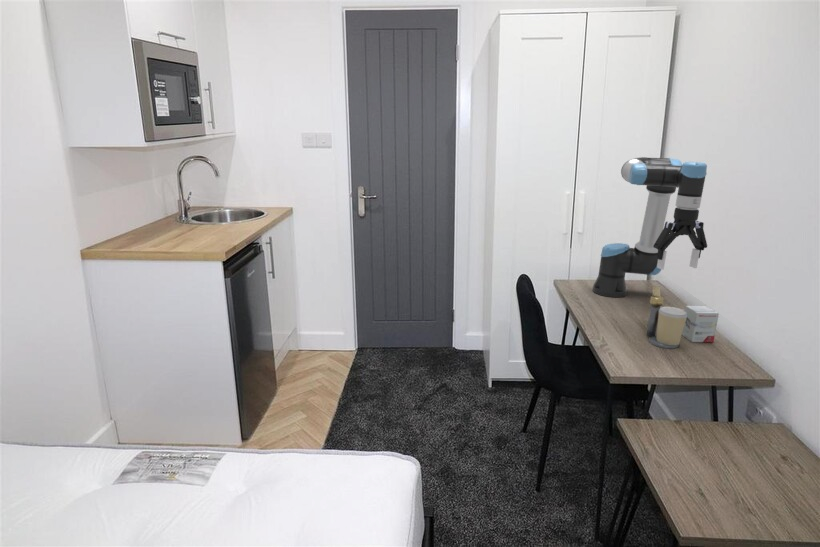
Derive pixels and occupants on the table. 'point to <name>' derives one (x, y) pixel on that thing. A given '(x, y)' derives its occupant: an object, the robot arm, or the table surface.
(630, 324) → the table surface
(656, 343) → the disc
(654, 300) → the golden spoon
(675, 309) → the coffee cup
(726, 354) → the table surface
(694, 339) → the ink box
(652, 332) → the post
